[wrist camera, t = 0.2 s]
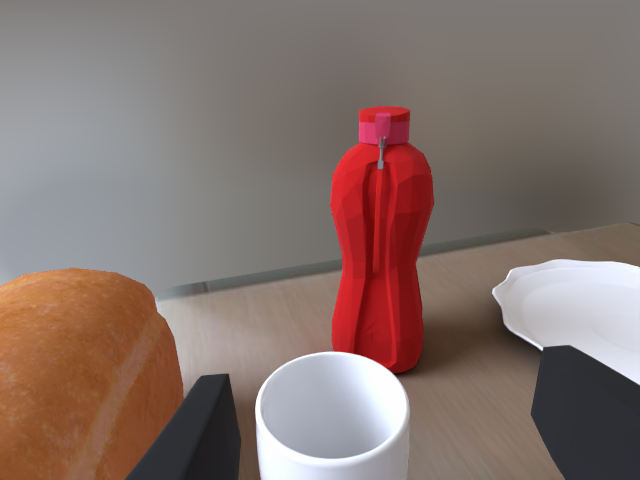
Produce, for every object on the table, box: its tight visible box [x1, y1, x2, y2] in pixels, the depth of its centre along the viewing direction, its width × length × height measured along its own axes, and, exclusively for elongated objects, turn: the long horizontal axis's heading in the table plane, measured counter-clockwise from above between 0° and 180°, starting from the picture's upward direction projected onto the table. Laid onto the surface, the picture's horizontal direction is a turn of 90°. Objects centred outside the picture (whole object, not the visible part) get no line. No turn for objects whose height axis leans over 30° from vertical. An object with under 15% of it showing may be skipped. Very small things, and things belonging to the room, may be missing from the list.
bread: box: [0, 268, 183, 480], centre depth 24 cm, size 14×26×16 cm, turn 6°
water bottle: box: [330, 106, 434, 373], centre depth 40 cm, size 9×11×25 cm
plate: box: [492, 259, 640, 385], centre depth 46 cm, size 29×29×2 cm
